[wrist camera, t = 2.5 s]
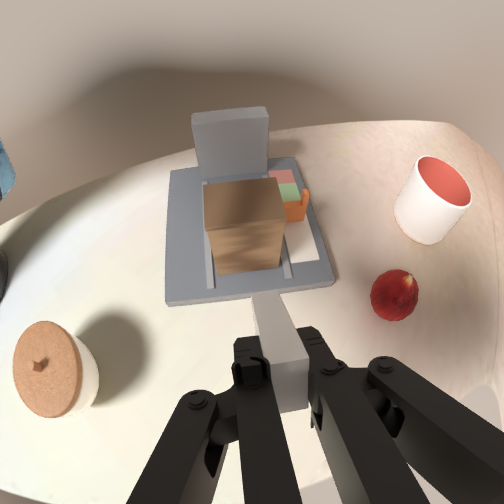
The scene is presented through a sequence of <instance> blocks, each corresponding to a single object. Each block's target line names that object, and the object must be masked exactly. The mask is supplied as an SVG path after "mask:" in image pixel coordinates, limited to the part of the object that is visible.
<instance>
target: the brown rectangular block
mask: <svg viewBox="0 0 504 504" xmlns="http://www.w3.org/2000/svg"><path fill="white" fill-rule="evenodd" d="M203 202H204V225H205V231H206V232H207V234H208V238H209V242H210V246H211V250H212V254H213V257H214V261H215V265H216V269H217V273H218V275H226V274H234V273H242V272H250V271H258V270H266V269H274V268H278V265H279V259H280V253H281V246H282V240H283V234H284V227H285V222H287V215H286V211H285V208H284V204H283V200H282V197H281V193H280V189H279V186H278V182H277V179H276V177H270V178H259V179H249V180H240V181H231V182H222V183H214V184H207V185H203Z"/></svg>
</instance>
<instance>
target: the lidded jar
mask: <svg viewBox="0 0 504 504" xmlns="http://www.w3.org/2000/svg"><path fill="white" fill-rule="evenodd" d="M13 376H14V382H15V385H16V389H17V391H18V393H19V395H20V397H21V399H22V401H23V402H24V403H25V405H26V406H27V407H28V408H29V409H30V410H31V411H32V412H34V413H35V414H37V415H39V416H42V417H45V418H57V417H70V416H75V415H77V414H80V413H82V412H84V411H85V410H86V409H87V408H88V407H89V406H90V405H91V404H92V403H93V401H94V400H95V397H96V395H97V392H98V388H99V373H98V368H97V364H96V362H95V359H94V358H93V356H92V354H91V352H90V351H89V349H88V348H87V347H86V346H85V345H84V344H83V343H82V342H81V341H80V340H79V339H78V338H77V337H75V336H74V335H73V334H71V333H70V332H68V331H66V330H65V329H64V328H62V327H61V326H59V325H57V324H55V323H53V322H50V321H40V322H37V323H35V324H33V325H31V326H30V327H28V328H27V329H26V330H25V331H24V333H23V334H22V335H21V337H20V339H19V340H18V343H17V345H16V348H15V352H14V357H13Z"/></svg>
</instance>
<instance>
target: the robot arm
mask: <svg viewBox="0 0 504 504" xmlns="http://www.w3.org/2000/svg"><path fill="white" fill-rule="evenodd" d="M15 182H16V173H15V171H14V168H13V166H12V164H11V162H10V160H9V157H8V155H7V153H6V150H5V148H4V146H3V143H2V141H1V138H0V201H1V200H3V199H4V196H5V195H6V194H7V193H8V192H9V190H10V189H11V188H12V187H13V186H14V184H15ZM7 271H8V265H7V259H6V256H5V255H4V253H3V252H2V251H0V299H1V297H2V294H3V291H4V288H5V284H6V279H7ZM251 300H252V309H253V317H254V326H255V334H256V336H249V337H242V338H237V340H236V341H235V343H234V344H233V346H234V363H233V364H232V367H231V369H232V374H233V379H234V385H233V386H232V387H231V388H230V389H228V390H227V391H225V392H222V393H220V394H217V395H214V394H213V393H211V392H210V391H206V390H194V391H190V392H188V393H186V394H185V395H183V396H182V398H181V399H180V400H179V402H178V404H177V406H176V408H175V410H174V412H173V414H172V416H171V418H170V420H169V422H168V424H167V426H166V427H165V429H164V431H163V433H162V435H161V437H160V439H159V441H158V443H157V445H156V447H155V449H154V451H153V453H152V455H151V456H150V458H149V460H148V462H147V464H146V466H145V468H144V470H143V472H142V474H141V476H140V478H139V480H138V481H137V483H136V485H135V487H134V489H133V491H132V493H131V495H130V497H129V499H128V501H127V503H126V504H211V503H212V500H213V497H214V493H215V490H216V487H217V483H218V480H219V477H220V473H221V470H222V466H223V463H224V459H225V456H226V452H227V449H228V444H229V443H231V442H234V441H237V440H239V449H240V460H241V471H242V481H243V491H244V501H245V504H302V499H301V496H300V492H299V488H298V484H297V480H296V476H295V472H294V469H293V465H292V461H291V457H290V453H289V449H288V445H287V441H286V437H285V433H284V429H283V425H282V421H281V417H280V413H285V412H291V411H296V410H301V409H306V408H308V403H309V402H310V405H311V428H314V425H315V428H316V431H317V434H318V437H319V439H320V442H321V445H322V448H323V450H324V453H325V456H326V459H327V462H328V464H329V467H330V470H331V473H332V475H333V478H334V481H335V484H336V487H337V489H338V492H339V495H340V498H341V500H342V503H343V504H430V502H429V500H428V499H427V497H426V495H425V494H424V492H423V490H422V488H421V487H420V485H419V483H418V481H417V480H416V478H415V476H414V474H413V473H412V471H411V469H410V468H409V466H408V464H409V465H410V466H411V467H412V468H413V469H415V470H416V471H417V472H418V473H419V474H420V475H421V476H422V477H423V478H424V479H425V480H426V481H427V482H429V483H430V484H431V485H432V486H433V487H434V488H435V489H436V490H438V491H439V492H440V493H441V494H442V495H443V496H444V497H445V498H446V499H448V500H449V501H450V502H451V503H452V504H504V432H502V431H501V430H499V429H498V428H496V427H495V426H493V425H492V424H490V423H489V422H487V421H486V420H484V419H483V418H481V417H480V416H479V415H477V414H476V413H474V412H472V411H471V410H470V409H468V408H467V407H465V406H464V405H462V404H461V403H459V402H458V401H457V400H455V399H454V398H452V397H451V396H449V395H448V394H446V393H445V392H443V391H442V390H441V389H439V388H438V387H436V386H435V385H433V384H432V383H430V382H429V381H427V380H426V379H425V378H423V377H422V376H420V375H419V374H417V373H416V372H414V371H413V370H411V369H410V368H409V367H407V366H406V365H404V364H403V363H401V362H400V361H398V360H397V359H395V358H393V357H388V356H380V357H377V358H374V359H373V360H371V361H370V363H369V365H368V368H350V367H348V366H347V365H346V364H345V363H344V362H343V361H341V360H339V359H336V358H335V357H334V355H333V353H332V352H331V350H330V348H329V347H328V345H327V344H326V343H325V340H324V339H323V338H322V335H321V334H320V332H319V331H318V330H317V329H315V328H314V327H312V326H309V327H303V328H298V329H296V328H295V326H294V324H293V322H292V320H291V318H290V316H289V313H288V311H287V309H286V307H285V305H284V303H283V301H282V299H281V297H280V294H279V292H278V290H272V291H265V292H257V293H251ZM406 462H407V463H408V464H407V463H406Z"/></svg>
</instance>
